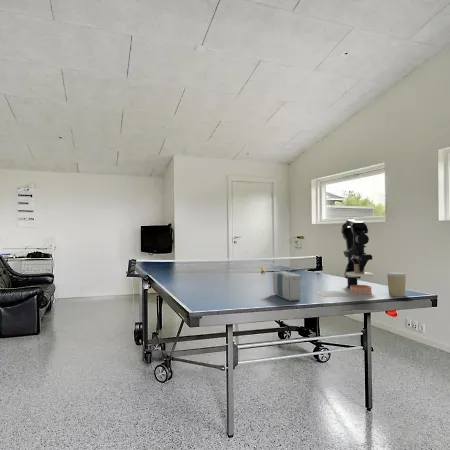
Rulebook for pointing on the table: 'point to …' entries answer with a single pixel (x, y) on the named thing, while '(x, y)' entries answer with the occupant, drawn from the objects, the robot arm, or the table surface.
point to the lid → (358, 272)
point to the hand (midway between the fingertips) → (359, 271)
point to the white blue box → (287, 285)
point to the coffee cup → (396, 283)
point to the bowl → (360, 289)
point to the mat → (332, 293)
